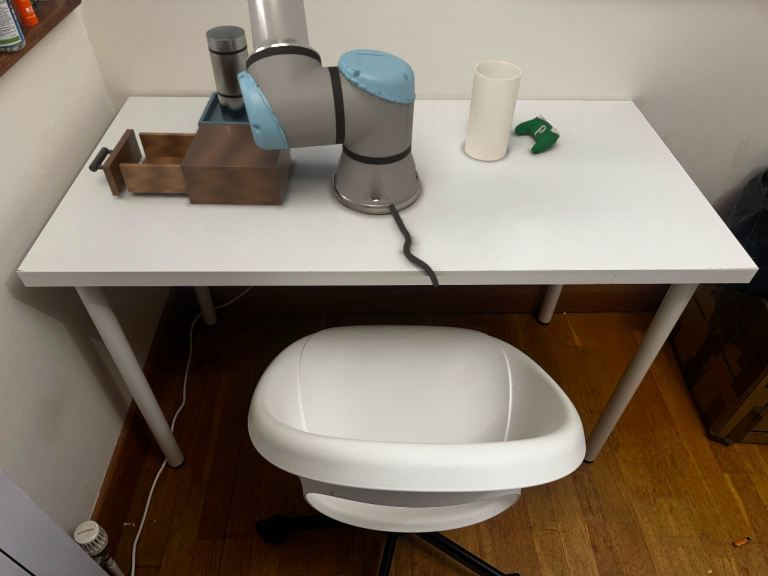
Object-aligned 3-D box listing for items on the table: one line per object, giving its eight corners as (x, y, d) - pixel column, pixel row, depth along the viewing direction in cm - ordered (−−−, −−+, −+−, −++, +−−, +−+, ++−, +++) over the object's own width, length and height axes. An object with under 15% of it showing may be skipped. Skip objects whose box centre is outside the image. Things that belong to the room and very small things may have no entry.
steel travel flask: (264, 116, 118) (252, 33, 106) (235, 128, 114) (219, 43, 102) (244, 104, 122) (230, 22, 110) (215, 115, 118) (197, 31, 106)
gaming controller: (541, 161, 112) (566, 139, 110) (532, 151, 109) (557, 128, 107) (520, 138, 118) (543, 117, 116) (511, 128, 115) (534, 106, 113)
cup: (514, 156, 109) (530, 76, 98) (476, 164, 107) (489, 83, 96) (493, 136, 115) (506, 57, 104) (457, 143, 113) (466, 64, 101)
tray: (277, 104, 123) (276, 93, 121) (267, 135, 113) (266, 124, 112) (215, 102, 123) (212, 91, 121) (200, 134, 113) (197, 123, 112)
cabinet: (190, 203, 97) (180, 165, 91) (208, 160, 106) (200, 124, 101) (281, 205, 97) (276, 167, 92) (291, 162, 107) (287, 125, 101)
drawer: (88, 195, 96) (75, 166, 92) (113, 156, 105) (103, 128, 101) (197, 197, 97) (190, 168, 92) (213, 158, 105) (207, 130, 101)
